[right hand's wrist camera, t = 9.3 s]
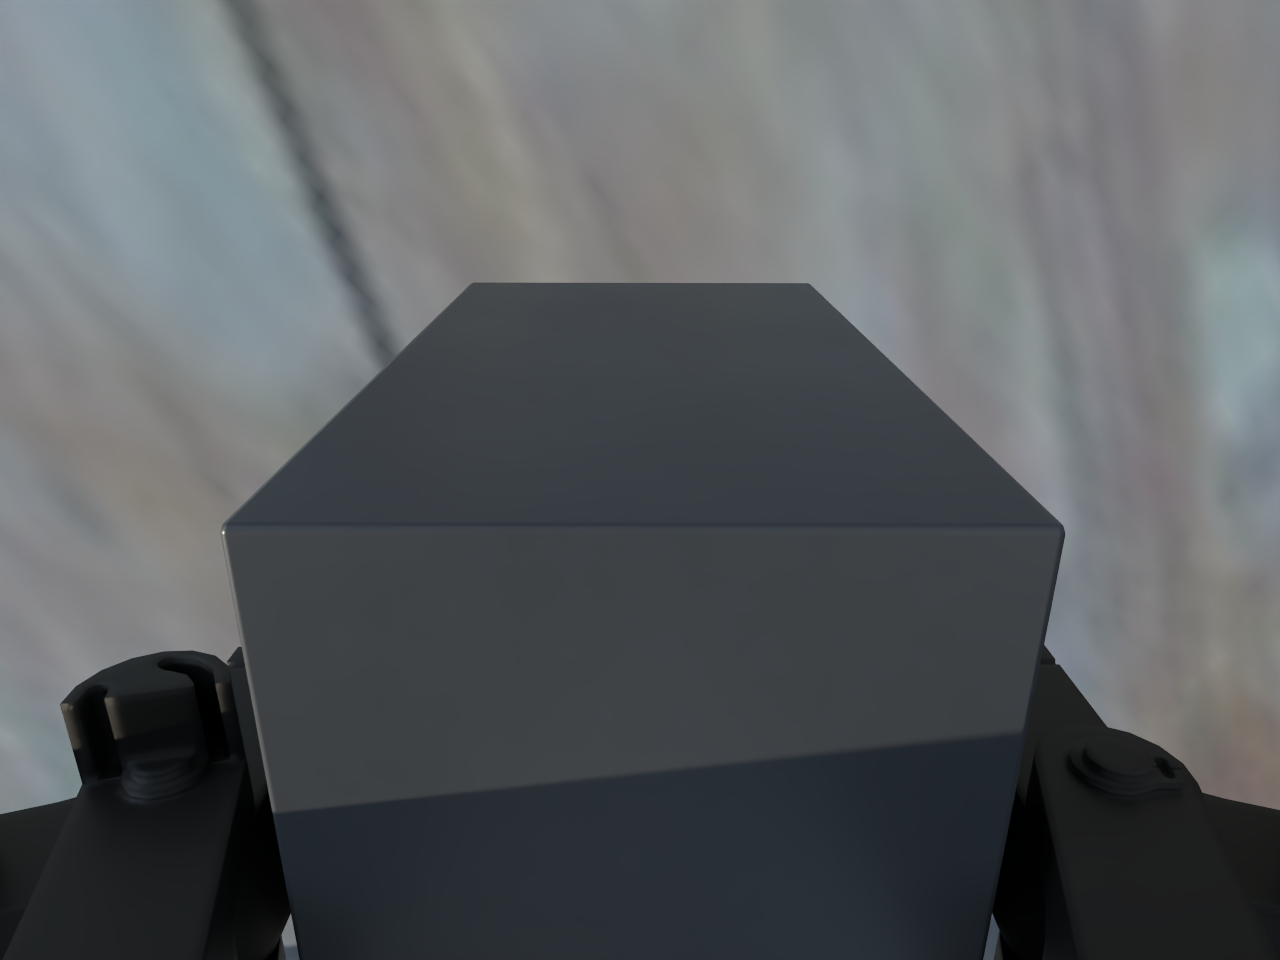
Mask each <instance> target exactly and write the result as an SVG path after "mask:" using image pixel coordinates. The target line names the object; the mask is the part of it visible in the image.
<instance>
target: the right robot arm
mask: <svg viewBox="0 0 1280 960" xmlns="http://www.w3.org/2000/svg"><path fill="white" fill-rule="evenodd" d="M226 663H227V665H226V664H225V663H224V662H223V661H221V660H220V659H219V658H218V657H216V656H214V655H210V654H206V653H201V652H197V651H166V652H160V653H155V654H150V655H146V656H141V657H136V658H132V659H129V660H127V661H124V662H122V663H119V664H117V665H114V666H111V667H109V668H106V669H104V670H101V671H100V672H98V673H97V674H95V675H93V676H92V677H90V678H89V679H87V680H85V681H84V682H82V683H81V684H79V685H77V686H76V687H75V688H74V689H73V690H72V691H71V693H70V694H69V695H68V696H67V697H66V698H65V699H64V700H63V702H62V703H61V704H60V706H61V710H62V713H63V717H64V720H65V724H66V727H67V731H68V734H69V738H70V741H71V745H72V749H73V752H74V756H75V759H76V763H77V766H78V770H79V773H80V777H81V780H82V786H81V789H80V791H79V793H78V795H77V797H76V798H72V799H68V800H65V801H61V802H57V803H52V804H48V805H43V806H38V807H33V808H29V809H24V810H19V811H14V812H9V813H5V814H0V960H286V957H285V951H284V946H283V941H282V936H281V934H282V932H283V930H284V927H285V925H286V923H287V920H288V918H289V916H290V914H291V910H290V904H289V899H288V894H287V888H286V883H285V877H284V872H283V867H282V861H281V856H280V850H279V845H278V840H277V834H276V829H275V824H274V818H273V813H272V807H271V802H270V797H269V791H268V786H267V780H266V775H265V770H264V764H263V759H262V754H261V748H260V743H259V737H258V732H257V727H256V721H255V716H254V710H253V705H252V700H251V694H250V689H249V684H248V678H247V673H246V667H245V662H244V657H243V651H242V647H238V648H237V649H236V651H235V652H234V653H233V655H232V656H231V657H230V659H229V660H228V661H227V662H226ZM992 914H993V916H994V918H995V920H996V923H997V925H998V927H999V929H1000V931H999V936H998V941H997V946H996V951H995V956H994V960H1280V810H1276V809H1271V808H1266V807H1262V806H1257V805H1252V804H1247V803H1243V802H1238V801H1233V800H1228V799H1224V798H1220V797H1216V796H1213V795H1209V794H1205V793H1202V791H1201V789H1200V787H1199V785H1198V783H1197V781H1196V780H1195V779H1194V777H1193V776H1192V775H1191V773H1190V772H1189V771H1188V769H1187V768H1186V767H1185V766H1184V764H1183V763H1182V762H1180V761H1179V760H1178V759H1176V758H1175V757H1173V756H1172V755H1171V754H1169V753H1168V752H1167V751H1165V750H1164V749H1162V748H1161V747H1160V746H1158V745H1156V744H1154V743H1151V742H1149V741H1147V740H1145V739H1142V738H1140V737H1138V736H1136V735H1134V734H1131V733H1129V732H1125V731H1121V730H1116V729H1112V728H1108V727H1107V726H1106V725H1105V723H1104V722H1103V721H1102V720H1101V718H1100V717H1099V716H1098V714H1097V713H1096V712H1095V710H1094V709H1093V708H1092V707H1091V705H1090V704H1089V703H1088V701H1087V700H1086V699H1085V697H1084V696H1083V695H1082V694H1081V692H1080V691H1079V690H1078V688H1077V687H1076V686H1075V684H1074V683H1073V682H1072V681H1071V679H1070V678H1069V677H1068V675H1067V674H1066V673H1065V671H1064V670H1063V669H1062V668H1061V666H1060V665H1056V664H1055V658H1054V657H1053V656H1052V655H1051V653H1050V652H1049V651H1048V649H1047V648H1046V647H1045V645H1044V647H1043V652H1042V657H1041V662H1040V667H1039V673H1038V678H1037V683H1036V688H1035V693H1034V698H1033V704H1032V709H1031V714H1030V719H1029V724H1028V729H1027V735H1026V740H1025V745H1024V750H1023V755H1022V760H1021V766H1020V771H1019V776H1018V781H1017V786H1016V791H1015V797H1014V802H1013V807H1012V812H1011V817H1010V822H1009V828H1008V833H1007V838H1006V843H1005V848H1004V853H1003V859H1002V864H1001V869H1000V874H999V879H998V885H997V890H996V895H995V900H994V905H993V910H992Z"/></svg>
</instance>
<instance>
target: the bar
mask: <svg viewBox="0 0 1280 960" xmlns="http://www.w3.org/2000/svg"><path fill="white" fill-rule="evenodd" d="M221 538H222V544H223V549H224V554H225V560H226V565H227V570H228V576H229V581H230V587H231V592H232V597H233V603H234V608H235V614H236V619H237V624H238V630H239V635H240V640H241V646H242V651H243V657H244V662H245V667H246V673H247V678H248V684H249V689H250V694H251V700H252V705H253V710H254V716H255V721H256V727H257V732H258V737H259V743H260V748H261V754H262V759H263V764H264V770H265V775H266V780H267V786H268V791H269V797H270V802H271V807H272V813H273V818H274V824H275V829H276V834H277V840H278V845H279V850H280V856H281V861H282V867H283V872H284V877H285V883H286V888H287V894H288V899H289V904H290V910H291V915H292V920H293V926H294V931H295V937H296V942H297V947H298V953H299V958H300V960H983V957H984V952H985V947H986V941H987V936H988V931H989V926H990V921H991V916H992V910H993V905H994V900H995V895H996V890H997V885H998V879H999V874H1000V869H1001V864H1002V859H1003V853H1004V848H1005V843H1006V838H1007V833H1008V828H1009V822H1010V817H1011V812H1012V807H1013V802H1014V797H1015V791H1016V786H1017V781H1018V776H1019V771H1020V766H1021V760H1022V755H1023V750H1024V745H1025V740H1026V735H1027V729H1028V724H1029V719H1030V714H1031V709H1032V704H1033V698H1034V693H1035V688H1036V683H1037V678H1038V673H1039V667H1040V662H1041V657H1042V652H1043V647H1044V642H1045V636H1046V631H1047V626H1048V621H1049V616H1050V610H1051V605H1052V600H1053V595H1054V590H1055V585H1056V579H1057V574H1058V569H1059V564H1060V559H1061V554H1062V548H1063V543H1064V538H1065V531H1064V527H1063V525H1062V524H1061V523H1060V522H1059V521H1058V520H1057V519H1056V518H1055V517H1054V516H1053V515H1051V514H1050V513H1049V512H1048V511H1047V510H1046V509H1045V508H1044V507H1043V506H1042V505H1041V504H1040V503H1039V502H1038V501H1037V500H1036V499H1035V498H1034V497H1033V496H1032V495H1030V494H1029V493H1028V492H1027V491H1026V490H1025V489H1024V488H1023V487H1022V486H1021V485H1020V484H1019V483H1018V482H1017V481H1016V480H1015V479H1014V478H1013V477H1012V476H1011V475H1009V474H1008V473H1007V472H1006V471H1005V470H1004V469H1003V468H1002V467H1001V466H1000V465H999V464H998V463H997V462H996V461H995V460H994V459H993V458H992V457H991V456H990V455H989V454H987V453H986V452H985V451H984V450H983V449H982V448H981V447H980V446H979V445H978V444H977V443H976V442H975V441H974V440H973V439H972V438H971V437H970V436H969V435H968V434H966V433H965V432H964V431H963V430H962V429H961V428H960V427H959V426H958V425H957V424H956V423H955V422H954V421H953V420H952V419H951V418H950V417H949V416H948V415H947V414H946V413H944V412H943V411H942V410H941V409H940V408H939V407H938V406H937V405H936V404H935V403H934V402H933V401H932V400H931V399H930V398H929V397H928V396H927V395H926V394H925V393H923V392H922V391H921V390H920V389H919V388H918V387H917V386H916V385H915V384H914V383H913V382H912V381H911V380H910V379H909V378H908V377H907V376H906V375H905V374H904V373H903V372H901V371H900V370H899V369H898V368H897V367H896V366H895V365H894V364H893V363H892V362H891V361H890V360H889V359H888V358H887V357H886V356H885V355H884V354H883V353H882V352H880V351H879V350H878V349H877V348H876V347H875V346H874V345H873V344H872V343H871V342H870V341H869V340H868V339H867V338H866V337H865V336H864V335H863V334H862V333H861V332H859V331H858V330H857V329H856V328H855V327H854V326H853V325H852V324H851V323H850V322H849V321H848V320H847V319H846V318H845V317H844V316H843V315H842V314H841V313H840V312H839V311H837V310H836V309H835V308H834V307H833V306H832V305H831V304H830V303H829V302H828V301H827V300H826V299H825V298H824V297H823V296H822V295H821V294H820V293H819V292H818V291H816V290H815V289H814V288H813V287H812V286H811V285H810V284H808V283H472V284H470V285H469V286H468V287H467V288H466V289H465V290H464V291H463V292H462V293H461V294H460V295H459V296H458V297H457V298H456V299H455V300H454V301H453V302H452V303H451V304H450V305H449V306H448V307H447V308H446V309H445V310H443V311H442V312H441V313H440V314H439V315H438V316H437V317H436V318H435V319H434V320H433V321H432V322H431V323H430V324H429V325H428V326H427V327H426V328H425V329H424V330H423V331H422V332H421V333H420V334H419V335H418V336H417V337H416V338H415V339H414V340H412V341H411V342H410V343H409V344H408V345H407V346H406V347H405V348H404V349H403V350H402V351H401V352H400V353H399V354H398V355H397V356H396V357H395V358H394V359H393V360H392V361H391V362H390V363H389V364H388V365H387V366H386V367H385V368H384V369H383V370H381V371H380V372H379V373H378V374H377V375H376V376H375V377H374V378H373V379H372V380H371V381H370V382H369V383H368V384H367V385H366V386H365V387H364V388H363V389H362V390H361V391H360V392H359V393H358V394H357V395H356V396H355V397H354V398H353V399H352V400H350V401H349V402H348V403H347V404H346V405H345V406H344V407H343V408H342V409H341V410H340V411H339V412H338V413H337V414H336V415H335V416H334V417H333V418H332V419H331V420H330V421H329V422H328V423H327V424H326V425H325V426H324V427H323V428H322V429H321V430H319V431H318V432H317V433H316V434H315V435H314V436H313V437H312V438H311V439H310V440H309V441H308V442H307V443H306V444H305V445H304V446H303V447H302V448H301V449H300V450H299V451H298V452H297V453H296V454H295V455H294V456H293V457H292V458H291V459H290V460H288V461H287V462H286V463H285V464H284V465H283V466H282V467H281V468H280V469H279V470H278V471H277V472H276V473H275V474H274V475H273V476H272V477H271V478H270V479H269V480H268V481H267V482H266V483H265V484H264V485H263V486H262V487H261V488H260V489H259V490H258V491H256V492H255V493H254V494H253V495H252V496H251V497H250V498H249V499H248V500H247V501H246V502H245V503H244V504H243V505H242V506H241V507H240V508H239V509H238V510H237V511H236V512H235V513H234V514H233V515H232V516H231V517H230V518H229V519H228V520H227V521H225V522H224V523H223V525H222V529H221Z"/></svg>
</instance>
